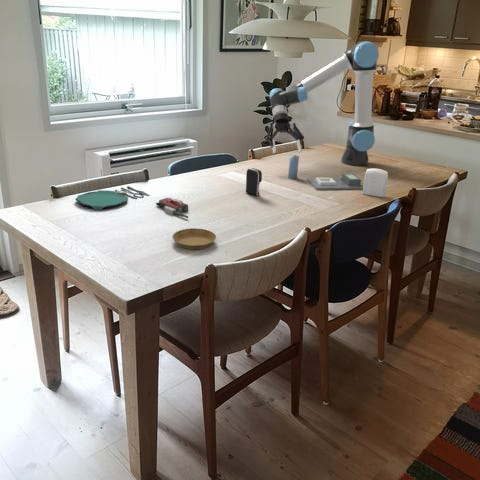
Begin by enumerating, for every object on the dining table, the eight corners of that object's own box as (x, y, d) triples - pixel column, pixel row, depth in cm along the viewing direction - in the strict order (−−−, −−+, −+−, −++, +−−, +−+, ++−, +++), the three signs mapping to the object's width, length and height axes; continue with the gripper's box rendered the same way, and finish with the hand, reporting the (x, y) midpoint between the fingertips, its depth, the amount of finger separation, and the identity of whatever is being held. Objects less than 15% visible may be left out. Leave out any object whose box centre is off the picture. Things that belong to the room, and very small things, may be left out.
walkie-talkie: (151, 208, 200) (185, 221, 188) (151, 197, 198) (185, 210, 186) (168, 203, 206) (202, 216, 194) (168, 193, 204) (202, 205, 192)
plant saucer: (186, 256, 160) (186, 248, 159) (164, 240, 171) (164, 233, 170) (224, 246, 168) (224, 239, 167) (201, 232, 179) (201, 225, 178)
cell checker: (351, 179, 250) (353, 172, 248) (364, 189, 236) (365, 181, 234) (306, 180, 246) (307, 172, 244) (316, 190, 231) (317, 181, 230)
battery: (261, 195, 220) (263, 170, 216) (255, 196, 218) (257, 171, 213) (251, 191, 225) (252, 166, 221) (245, 192, 223) (246, 167, 218)
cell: (295, 176, 251) (297, 153, 246) (297, 179, 247) (300, 156, 242) (287, 176, 250) (289, 153, 246) (289, 179, 246) (291, 156, 242)
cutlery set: (66, 201, 201) (66, 196, 200) (126, 188, 223) (126, 183, 222) (96, 215, 190) (95, 209, 189) (156, 199, 211) (156, 194, 210)
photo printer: (361, 194, 229) (365, 168, 224) (363, 191, 233) (367, 166, 228) (383, 198, 225) (388, 171, 220) (385, 195, 228) (390, 169, 224)
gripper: (300, 120, 264) (308, 155, 257) (255, 120, 258) (262, 156, 250) (305, 112, 257) (313, 147, 250) (259, 111, 251) (265, 148, 244)
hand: (287, 152), depth 250 cm, fingers open, 13 cm apart
